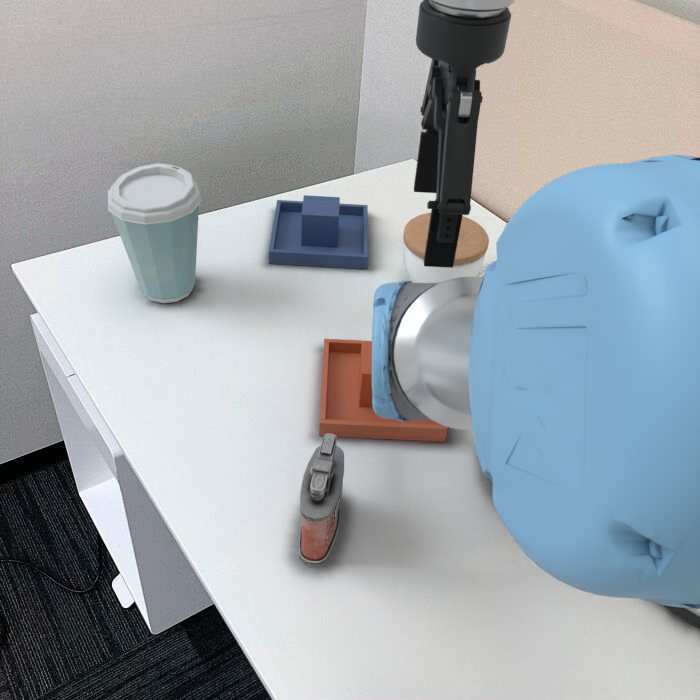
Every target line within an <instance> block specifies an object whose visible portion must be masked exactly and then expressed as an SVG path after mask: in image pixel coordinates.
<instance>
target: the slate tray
mask: <svg viewBox="0 0 700 700" xmlns="http://www.w3.org/2000/svg"><path fill="white" fill-rule="evenodd" d="M302 206H303V200H288V199H286V200H285V199H277V200H276V205H275V211H274V217H273V223H272V229H271V235H270V239H269V240H270V241H269V247H268V265H284V266H306V267H319V268H320V267H321V268H340V269H342V268H343V269H357V270H358V269H359V270H368V263H369V216H368V215H369V213H368V212H369V211H368V210H369V208H368V206H369V205H368V204H356V203H355V204H354V203H340V206H339V227H338V245H337V247H320V246H302V245H301V222H302Z"/></svg>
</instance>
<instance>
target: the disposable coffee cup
mask: <svg viewBox="0 0 700 700" xmlns="http://www.w3.org/2000/svg"><path fill="white" fill-rule="evenodd" d="M201 203H202V197H201V193H200V189H199V187H198V182H196V181H194V178H193V174H192V173H191V172H189V171H187V170H186V169H184V168H182V167H180V166H178V165H175V164H174V165H173V164H169V163H168V164H167V163H161V162H158V163H151V164H146V165H139V166H137V167H135V168H133V169H131V170H129V171H127V172H125V173H122V174H121V175H120V176H119V177H118V178H117V179H116V180H115V181H114V182H113V184H112V185H111V186H110V188H109V189H108V191H107V207H108V208H107V209H108V212H110V213H111V216H112V218H113V221H114V223H115V226H116V228H117V232H118V234H119V236H120V239H121V241H122V244H123V246H124V250H125V252H126V254H127V257H128V260H129V263H130V265H131V268H132V270H133V273H134V276H135V278H136V281H137V283H138V286H139V289H140V291H141V292H142V293H143V294H144V296H145V298H148V299H149V300H150V301H151V302H154V303H155V302H156V303H159V304H169V303H178V302H179V301H181V300H183V299H185V298H187V297H189V296H190V294H191V293H192V292H193V290H194V286H195V285H196V271H197V269H196V268H197V251H198V249H197V248H198V235H199V234H198V232H199V231H198V229H199V212H200V211H199V210H200V204H201Z"/></svg>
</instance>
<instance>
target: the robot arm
mask: <svg viewBox="0 0 700 700" xmlns="http://www.w3.org/2000/svg"><path fill="white" fill-rule="evenodd" d="M515 1H516V0H422V1H421V2H420V3H419V7H418V18H417V24H416V25H417V28H416V34H415V45H416V47H417V49H418V50H419V52H421V53H422V55H424V56H426V57H428V58H429V59H431V62H430V67H429V72H428V77H427V79H426V80H427V81H426V85H425V89H424V94H423V101H422V104H421V106H420V111H419V113H421V116H423V117H422V118H421V122H420V126H421V129H422V130H425V131H421V132H420V138H419V139H420V140H419V145H418V151H417V152H418V153H417V160H416V168H415V176H414V184H413V192H414V193H424V194H425V193H427V194H435V196H436V197H435V199H434V200H428V201H427V203H426V209H428V210H430V213H431V216H430V223H429V229H428V236H427V243H426V249H425V256H424V266H427V267H449V268H453V265H454V259H455V254H456V248H457V243H458V238H459V232H460V227H461V221H462V216H469V215H470V214H471V213H470V212H471V210H472V205H471V201H472V189H473V178H474V168H475V167H474V166H475V157H476V146H477V134H478V123H479V119H480V118H479V116H480V112H481V111H480V110H481V105H482V103H483V99H484V98H483V96H482V91H481V80H480V79H476V78H477V68H479V67H480V66H483V65H486V64H487V65H488V64H492V63H494V62H496V61H498V60H500V58H502V56H503V55H504V52H505V49H506V45H507V39H508V35H509V28H510V25H511V19H512V13H511V11H510V9H509V7H510V6H512V5H513V4H514V3H515ZM495 246H496V260H495V261H492V262H490V263H489V264H487V265H486V266H485V270H484V275H483V277H480V276H477V277H459V278H454V279H450V280H446V281H444V282H441V283H413V282H412V281H411V280H406V279H405V280H401V281H400V282H399V281H398V282H386V283H383V284H381V285H379V286H378V287H377V289H375V291H374V294H373V309H372V310H373V312H372V330H371V331H372V332H371V341H372V395H373V397H372V406H373V410H374V412H375V413H376V414H377V415H378V416H379V417H381V418H384V419H394V420H399V421H400V422H407V421H410V420H411V419H412V420H433V421H435V422H437V423H439V424H441V425H443V426H446V427H447V428H450V429H454V430H459V431H472V435H473V440H474V445H475V450H476V455H477V459H478V462H479V465H480V467H481V471H482V475H483V476H484V477H485V478H486V479H488V481H489V483H490V486H491V488H492V494H491V495H492V505H493V506H494V508H495V510H496V512H497V514H498V516H499V518H500V520H501V522H502V523H503V525H504V527H505V529H506V530H507V531H508V533H509V534H510V536H511V538H512V539H513V540H514V542H515V543H516V544H517V546H518V547H519V548H520V549H521V550H522V552H523V553H524V554H525V556H527V557H528V558H529V559H530V560H531V561H532V562H533V563H534V564H535V565H536V566H538V568H540V569H542V571H544V572H545V573H547V574H548V575H550V576H551V577H553V578H554V579H556V580H557V581H560V582H561V583H563V584H565V585H566V586H569V587H572V588H574V589H576V590H579V591H582V592H586V593H588V594H592V595H596V596H601V597H609V598H617V599H636V600H637V599H638V600H639V599H640V600H642V601H646V602H650V603H653V604H654V603H655V604H657V605H658V604H659V605H662V606H663V607H664V608H666V609H667V610H668V611H669V612H671V613H672V614H674V615H676V616H677V617H679V618H680V619H681V620H684V622H686V623H688V624H690V625H691V626H693V627H695V628H697V629H699V630H700V616H699V615H698V614H696V613H695V612H692V611H691V610H689V609H694V610H700V157H699V156H693V155H684V154H683V155H682V154H669V155H662V156H653V157H652V156H651V157H648V158H643V159H639V160H635V161H631V162H620V163H619V162H618V163H603V164H596V165H591V166H587V167H582V168H579V169H576V170H573V171H568V172H566V173H565V174H563V175H561V176H558V177H556V178H554V179H553V180H550V181H549V182H547V183H546V184H544V185H543V186H542V187H541V188H539V189H538V190H536V191H535V192H534V193H533V194H531V195H530V196H529V197H528V198H527V199H526V200H525V201H524V202H523V203H522V204H521V205H520V206H519V207H518V208H517V210H516V211H515V212H514V214H513V215H512V216H511V217H510V219H509V220H508V222H507V223H506V225H505V226H504V228H503V230H502V232H501V234H500V236H499V238H498V239H497V241H496V243H495Z"/></svg>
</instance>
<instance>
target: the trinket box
mask: <svg viewBox="0 0 700 700" xmlns="http://www.w3.org/2000/svg"><path fill="white" fill-rule="evenodd" d="M430 216H431V212H426V213H422V214H419V215H416V216H415V217H412V218H411V219H410V220H409V221H408V222H407V223H406V224H405V226H404V228H403V237H402V239H403V243H402V262H403V266H404V270H405V272H406V275H407V276H408V278H409V280H410V281H411V282H413V283H441V282H444V281H446V280H450V279H454V278H459V277H478V275H479V274H480V272H481V270H482V267H483V264H484V261H485V257H486V253H487V251H488V248H489V244H490V238H489V235H488V233H487V231H486V229H485V228H483V226H482V225H480V224H479V223H478V222H476V221H475V220H474V219H471V218H469V217H467V216H465V215H463V216H462V221H461V227H460V232H459V238H458V243H457V248H456V254H455V259H454V265H453V268H449V267H427V266H424V256H425V249H426V243H427V236H428V229H429V223H430Z"/></svg>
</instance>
